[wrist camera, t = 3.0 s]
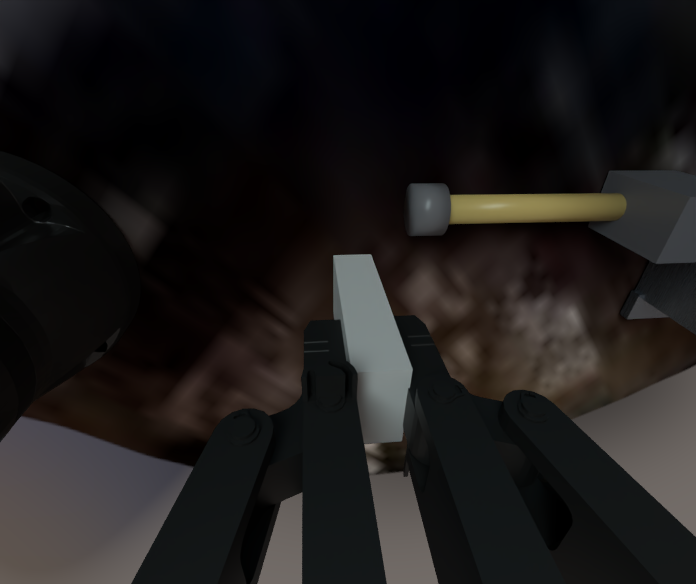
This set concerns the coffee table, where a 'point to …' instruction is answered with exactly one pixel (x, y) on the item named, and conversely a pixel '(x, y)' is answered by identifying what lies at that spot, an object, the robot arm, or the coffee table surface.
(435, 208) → the yellow handled grey mallet
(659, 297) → the housing
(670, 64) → the coffee table surface
